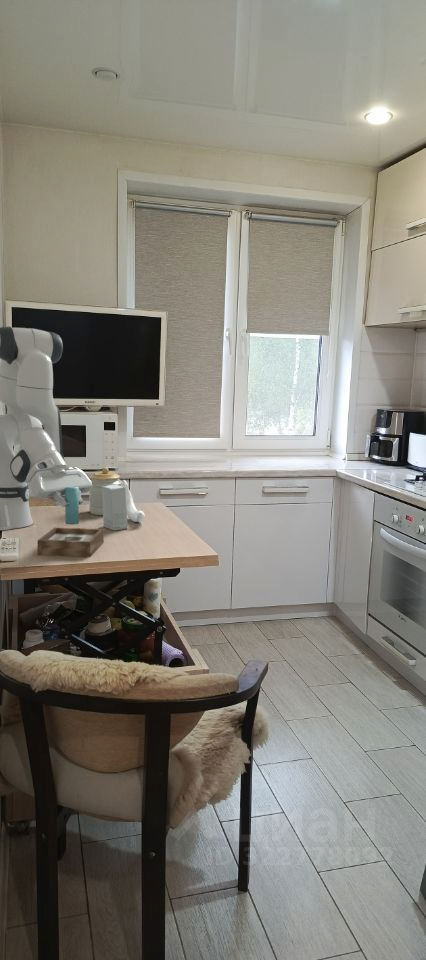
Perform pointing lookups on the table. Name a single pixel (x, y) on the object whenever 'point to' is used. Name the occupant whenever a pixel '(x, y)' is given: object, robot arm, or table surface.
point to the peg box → (71, 542)
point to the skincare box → (114, 507)
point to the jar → (96, 489)
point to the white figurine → (132, 507)
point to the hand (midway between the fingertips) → (73, 504)
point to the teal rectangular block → (72, 505)
